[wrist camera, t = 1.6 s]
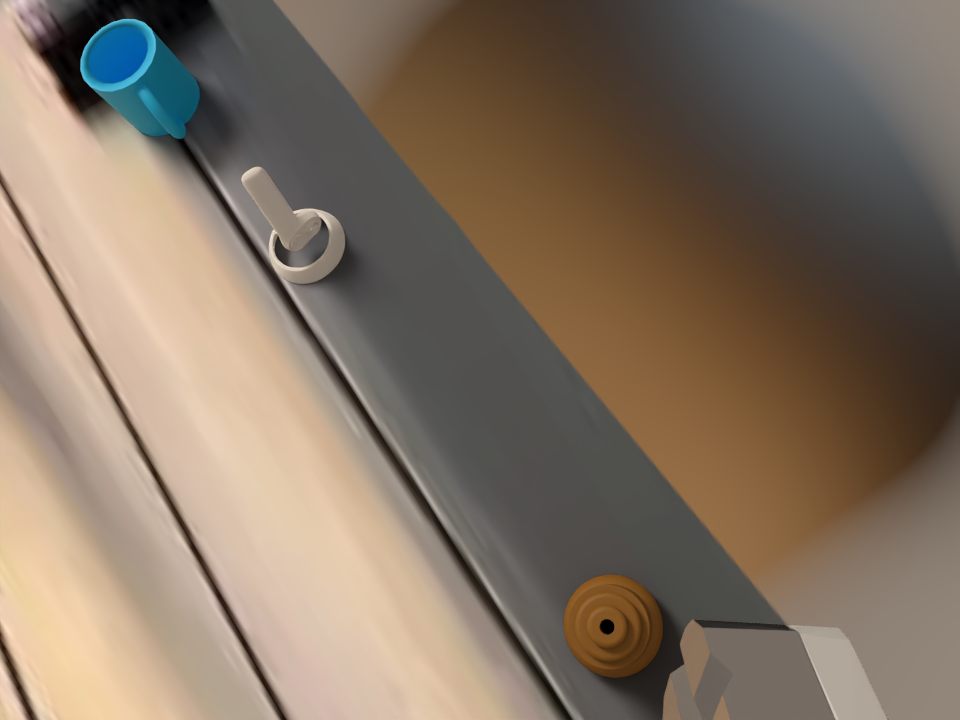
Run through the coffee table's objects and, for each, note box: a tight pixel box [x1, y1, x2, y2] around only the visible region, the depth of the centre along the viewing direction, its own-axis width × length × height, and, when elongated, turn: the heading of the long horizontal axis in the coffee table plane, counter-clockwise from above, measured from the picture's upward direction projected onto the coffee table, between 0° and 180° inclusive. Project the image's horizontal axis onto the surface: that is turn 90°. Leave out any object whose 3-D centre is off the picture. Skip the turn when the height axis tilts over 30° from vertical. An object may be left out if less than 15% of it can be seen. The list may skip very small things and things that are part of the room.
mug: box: [81, 19, 200, 139], centre depth 85 cm, size 12×8×8 cm
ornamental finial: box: [564, 575, 663, 678], centre depth 62 cm, size 8×8×8 cm
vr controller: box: [242, 167, 345, 284], centre depth 79 cm, size 8×12×7 cm
